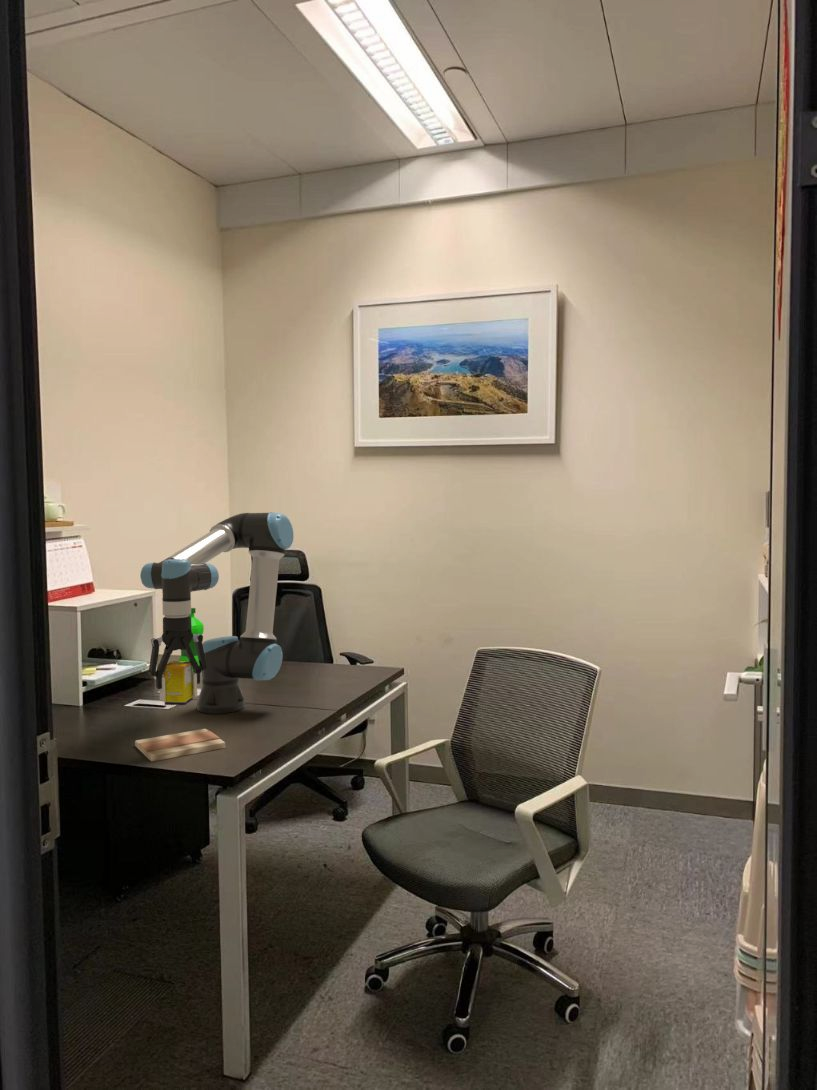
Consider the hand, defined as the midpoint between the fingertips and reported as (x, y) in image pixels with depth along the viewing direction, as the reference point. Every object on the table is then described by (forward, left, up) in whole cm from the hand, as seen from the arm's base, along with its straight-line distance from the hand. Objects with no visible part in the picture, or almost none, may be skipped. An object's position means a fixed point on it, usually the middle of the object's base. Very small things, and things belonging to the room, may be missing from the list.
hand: (178, 698), depth 215 cm
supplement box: (0, 0, -1) cm, 1 cm away
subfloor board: (0, 0, -14) cm, 14 cm away
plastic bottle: (-35, -96, -14) cm, 103 cm away
